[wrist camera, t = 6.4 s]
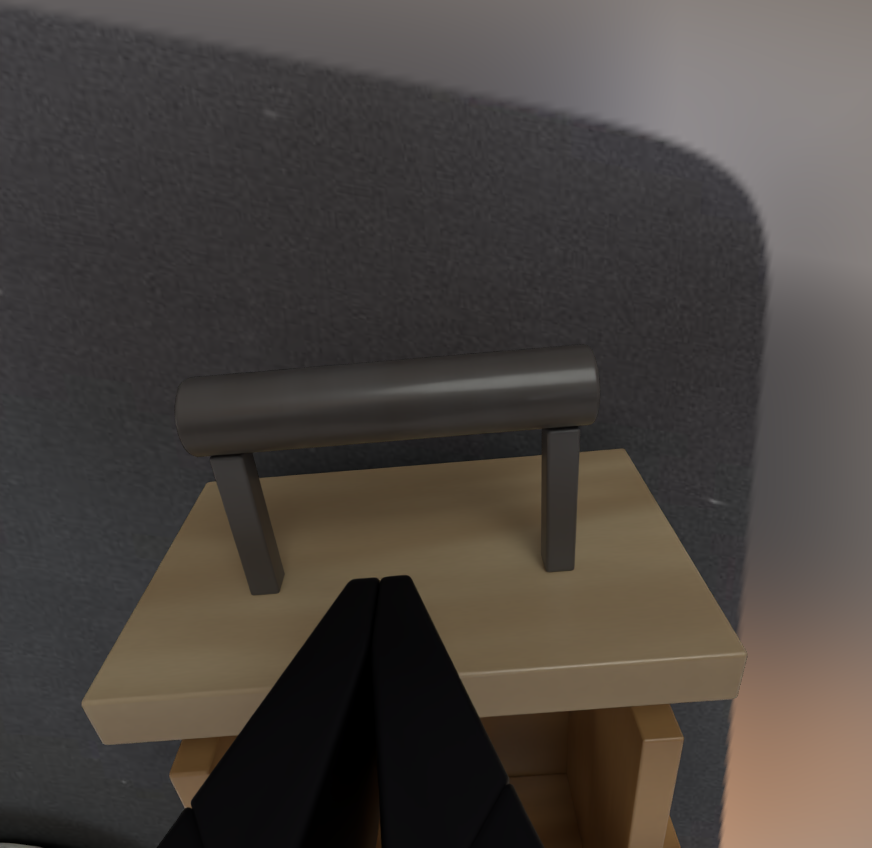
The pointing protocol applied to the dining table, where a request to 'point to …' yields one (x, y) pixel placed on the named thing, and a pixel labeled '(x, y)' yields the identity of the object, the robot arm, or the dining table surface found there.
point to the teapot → (16, 846)
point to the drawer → (435, 580)
